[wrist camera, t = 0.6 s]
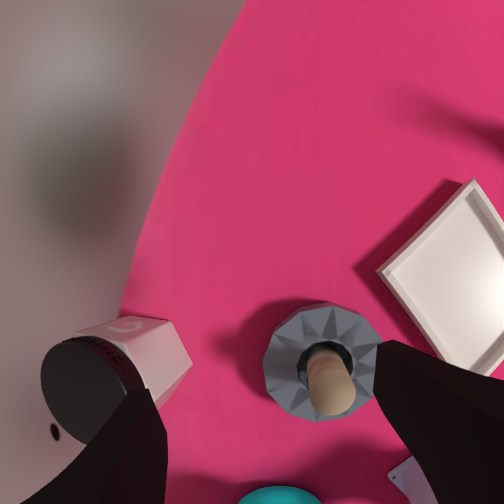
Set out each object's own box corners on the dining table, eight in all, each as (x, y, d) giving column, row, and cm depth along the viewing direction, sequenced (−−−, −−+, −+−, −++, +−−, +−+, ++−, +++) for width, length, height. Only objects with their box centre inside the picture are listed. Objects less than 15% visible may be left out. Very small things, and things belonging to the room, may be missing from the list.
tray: (533, 302, 25) (545, 304, 22) (458, 388, 26) (468, 396, 23) (463, 183, 26) (474, 178, 24) (374, 271, 27) (381, 271, 25)
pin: (345, 359, 27) (364, 396, 19) (319, 380, 27) (328, 423, 19) (325, 335, 27) (338, 365, 19) (298, 356, 28) (300, 393, 19)
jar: (194, 321, 29) (135, 355, 17) (192, 400, 29) (142, 464, 17) (111, 309, 30) (30, 329, 18) (114, 383, 30) (43, 427, 18)
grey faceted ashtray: (395, 360, 27) (405, 370, 24) (311, 424, 28) (312, 439, 25) (331, 279, 28) (335, 281, 25) (244, 350, 29) (238, 359, 26)
